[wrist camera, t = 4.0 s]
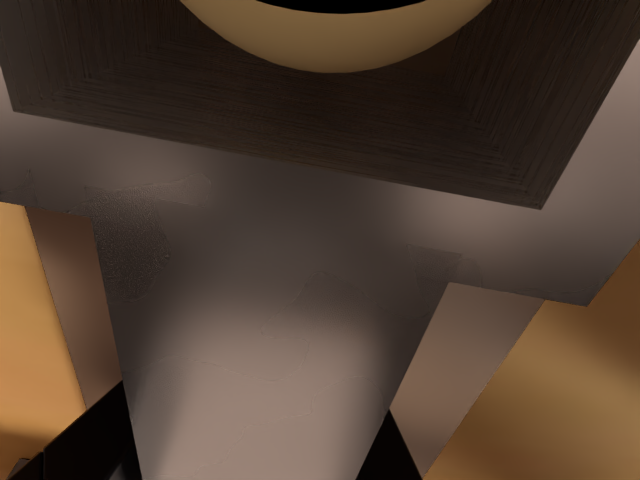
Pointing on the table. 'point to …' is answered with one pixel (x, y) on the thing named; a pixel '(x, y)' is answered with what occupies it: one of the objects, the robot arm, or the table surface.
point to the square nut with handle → (313, 207)
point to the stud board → (325, 57)
